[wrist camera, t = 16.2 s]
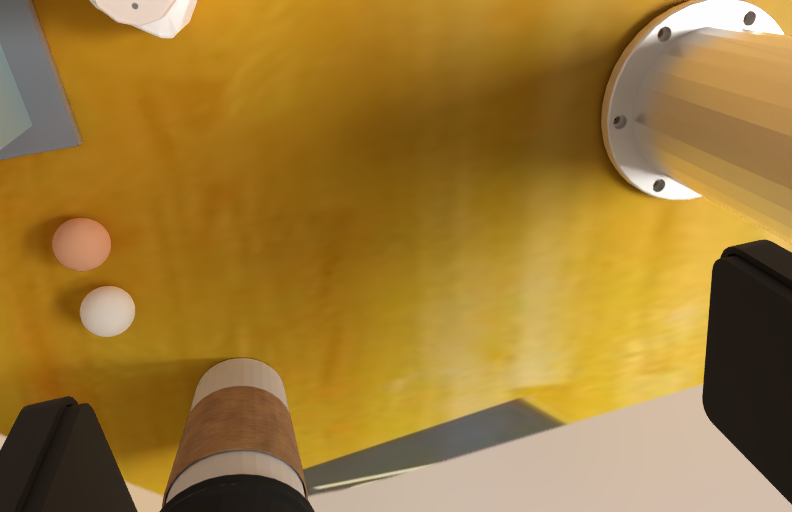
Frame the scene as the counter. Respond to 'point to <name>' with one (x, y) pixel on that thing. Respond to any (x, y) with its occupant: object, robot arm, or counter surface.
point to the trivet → (35, 83)
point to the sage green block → (10, 105)
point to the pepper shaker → (150, 14)
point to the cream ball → (107, 311)
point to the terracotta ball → (81, 244)
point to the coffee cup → (238, 446)
